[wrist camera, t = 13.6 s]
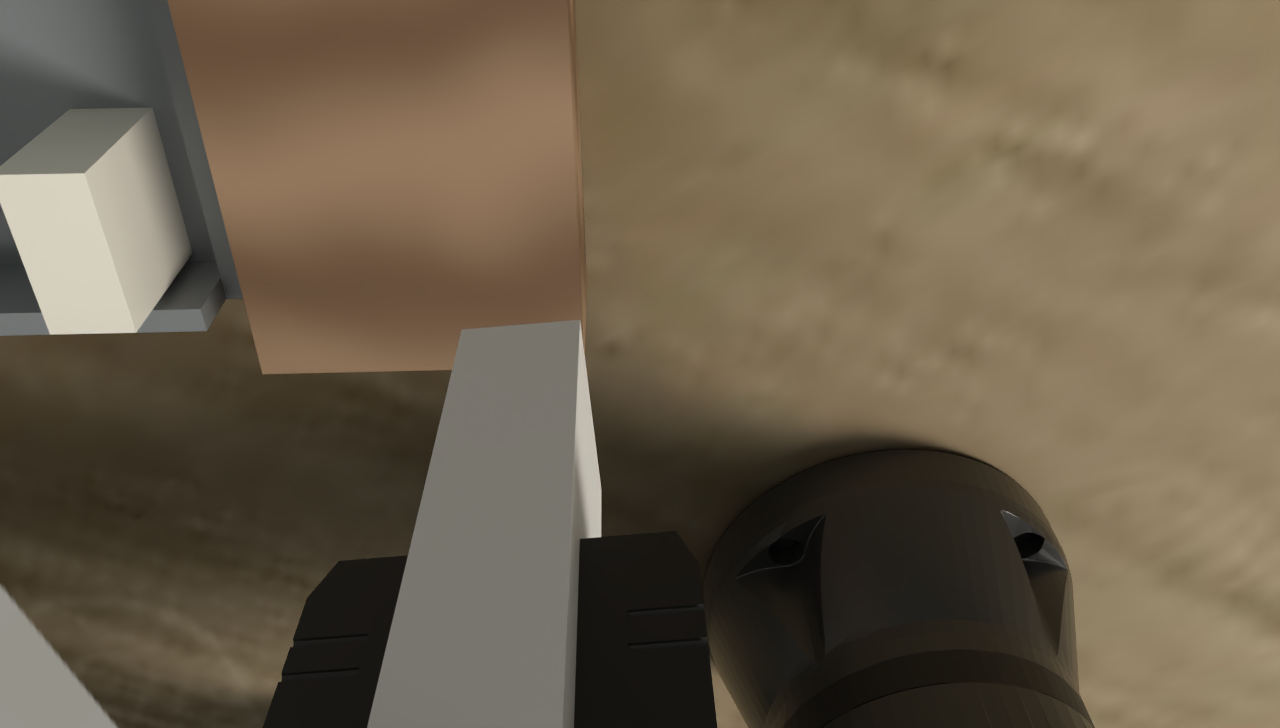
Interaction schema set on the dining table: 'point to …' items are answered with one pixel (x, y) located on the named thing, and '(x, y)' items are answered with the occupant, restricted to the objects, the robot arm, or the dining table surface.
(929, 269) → the dining table surface
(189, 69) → the walnut riser
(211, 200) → the tray
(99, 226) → the cream tile
